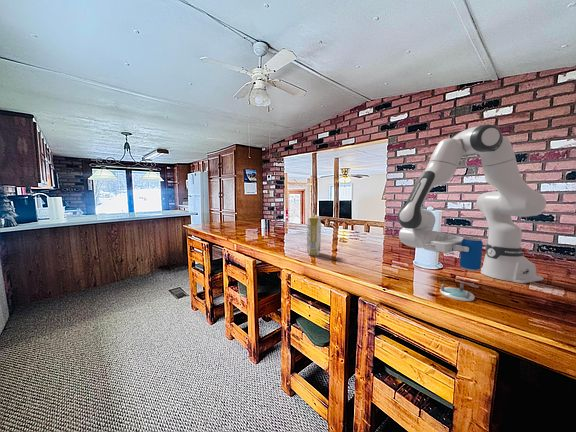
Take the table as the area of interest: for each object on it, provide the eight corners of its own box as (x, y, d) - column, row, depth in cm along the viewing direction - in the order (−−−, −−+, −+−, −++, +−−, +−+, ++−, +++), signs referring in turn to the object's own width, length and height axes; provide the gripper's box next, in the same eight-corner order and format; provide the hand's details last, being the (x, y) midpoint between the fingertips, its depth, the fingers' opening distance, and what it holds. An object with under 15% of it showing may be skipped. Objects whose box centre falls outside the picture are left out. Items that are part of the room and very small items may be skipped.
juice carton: (320, 256, 140) (320, 216, 138) (306, 255, 141) (307, 215, 139) (320, 252, 149) (321, 214, 147) (307, 251, 150) (308, 214, 148)
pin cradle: (458, 288, 94) (458, 280, 94) (482, 300, 84) (482, 291, 83) (433, 289, 93) (434, 281, 92) (455, 301, 82) (455, 293, 82)
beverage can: (471, 266, 95) (473, 237, 94) (484, 271, 89) (487, 240, 88) (455, 266, 95) (457, 237, 94) (467, 271, 89) (470, 240, 87)
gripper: (423, 236, 96) (461, 243, 85) (448, 232, 107) (486, 237, 95) (422, 251, 97) (460, 260, 85) (447, 246, 108) (484, 253, 96)
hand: (474, 248), depth 90 cm, fingers closed on beverage can, 6 cm apart
